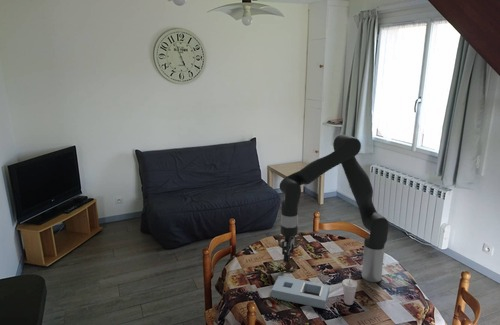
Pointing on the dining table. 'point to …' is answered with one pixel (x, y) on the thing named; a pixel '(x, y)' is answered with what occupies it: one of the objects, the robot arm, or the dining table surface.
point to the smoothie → (349, 290)
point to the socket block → (300, 291)
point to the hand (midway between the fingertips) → (288, 257)
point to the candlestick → (289, 265)
